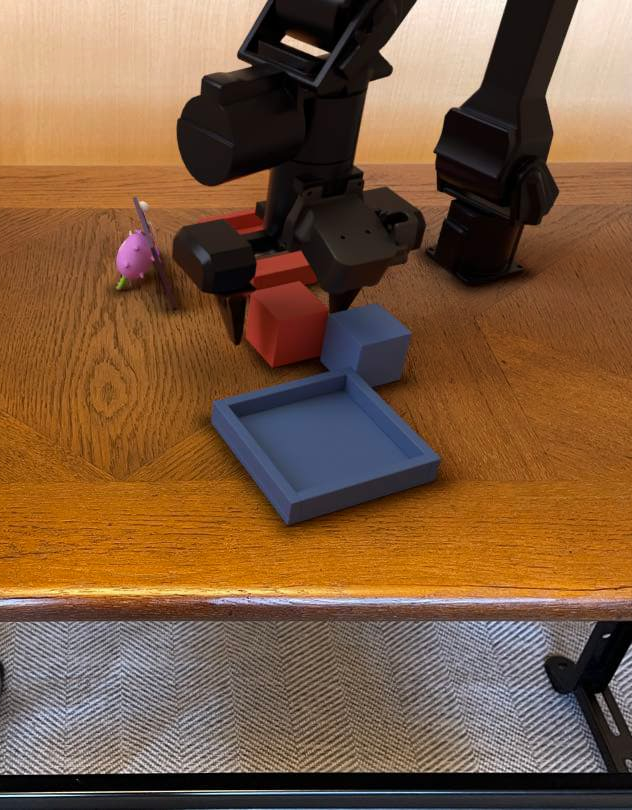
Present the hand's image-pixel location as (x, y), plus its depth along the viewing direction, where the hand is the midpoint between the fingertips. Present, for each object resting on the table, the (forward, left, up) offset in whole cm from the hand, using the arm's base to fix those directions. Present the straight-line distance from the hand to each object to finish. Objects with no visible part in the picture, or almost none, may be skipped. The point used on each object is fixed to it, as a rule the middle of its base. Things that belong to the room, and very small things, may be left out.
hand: (285, 330), depth 75 cm
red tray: (-7, -13, -2) cm, 15 cm away
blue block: (-4, +5, -2) cm, 7 cm away
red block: (0, 0, -2) cm, 2 cm away
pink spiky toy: (+7, -13, -2) cm, 15 cm away
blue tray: (+4, +12, -2) cm, 13 cm away
